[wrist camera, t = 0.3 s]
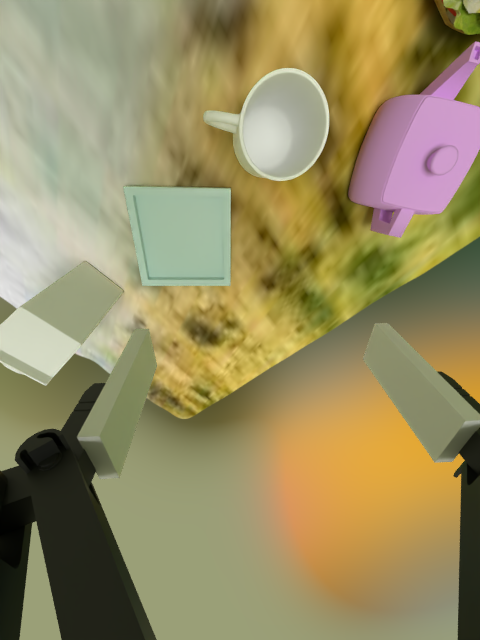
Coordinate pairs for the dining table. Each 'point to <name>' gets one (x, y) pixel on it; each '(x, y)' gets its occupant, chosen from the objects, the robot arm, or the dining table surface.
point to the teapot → (418, 150)
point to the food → (461, 15)
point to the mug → (278, 125)
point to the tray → (181, 234)
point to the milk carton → (56, 323)
